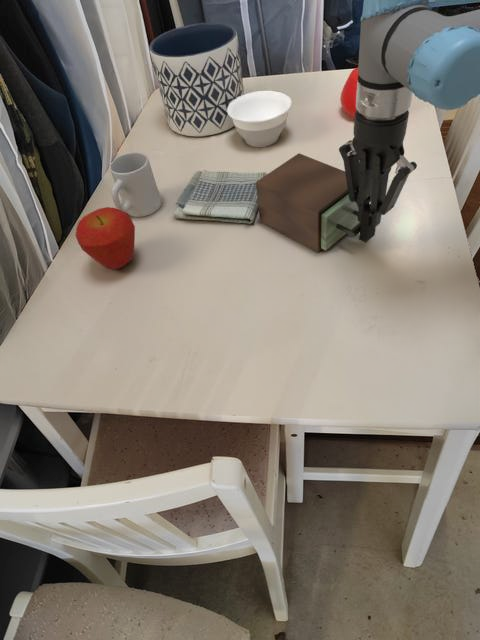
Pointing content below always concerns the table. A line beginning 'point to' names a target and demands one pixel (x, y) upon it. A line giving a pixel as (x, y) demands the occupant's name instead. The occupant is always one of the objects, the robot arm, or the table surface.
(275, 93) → the bowl
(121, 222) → the apple
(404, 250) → the table surface
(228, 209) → the dish towel
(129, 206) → the mug
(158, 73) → the planter
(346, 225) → the drawer
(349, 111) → the teapot
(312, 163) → the cabinet
